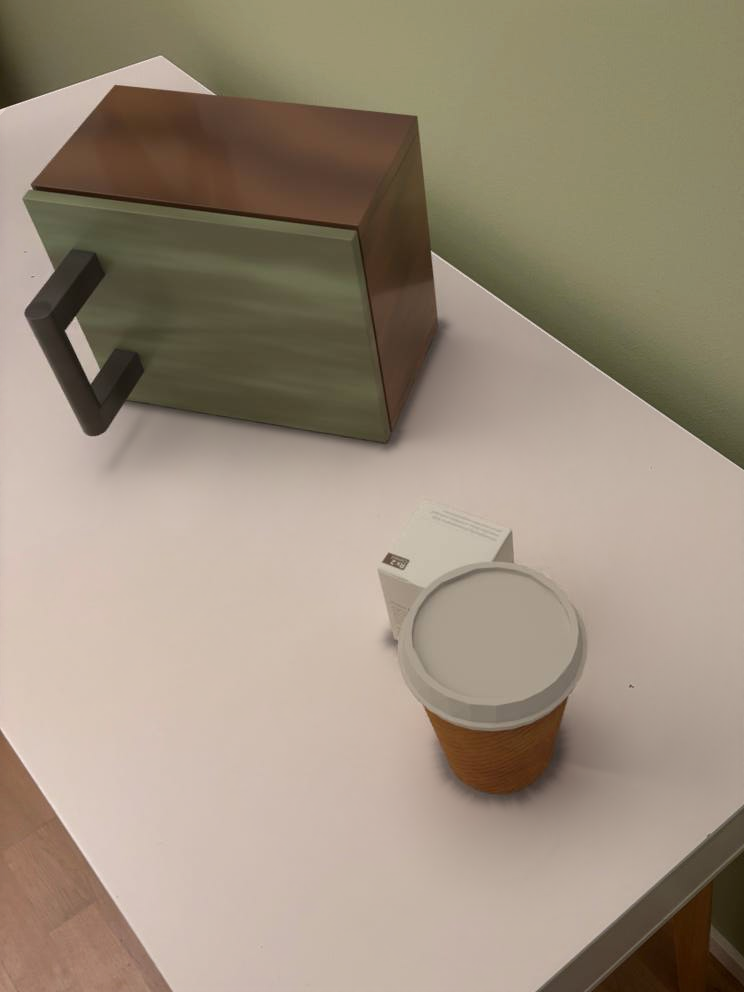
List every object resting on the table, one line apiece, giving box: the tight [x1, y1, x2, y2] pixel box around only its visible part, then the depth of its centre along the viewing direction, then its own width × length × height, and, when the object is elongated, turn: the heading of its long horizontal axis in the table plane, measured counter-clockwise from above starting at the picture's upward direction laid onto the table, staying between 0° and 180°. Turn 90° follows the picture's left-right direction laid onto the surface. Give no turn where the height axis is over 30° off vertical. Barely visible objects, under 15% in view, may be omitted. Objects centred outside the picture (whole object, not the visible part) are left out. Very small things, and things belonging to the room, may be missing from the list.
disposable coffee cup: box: [396, 562, 589, 795], centre depth 56 cm, size 10×10×12 cm
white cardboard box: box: [376, 498, 515, 642], centre depth 63 cm, size 6×6×7 cm
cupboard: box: [30, 84, 439, 433], centre depth 73 cm, size 12×22×17 cm, turn 75°
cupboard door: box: [21, 189, 392, 444], centre depth 68 cm, size 8×22×17 cm, turn 75°
